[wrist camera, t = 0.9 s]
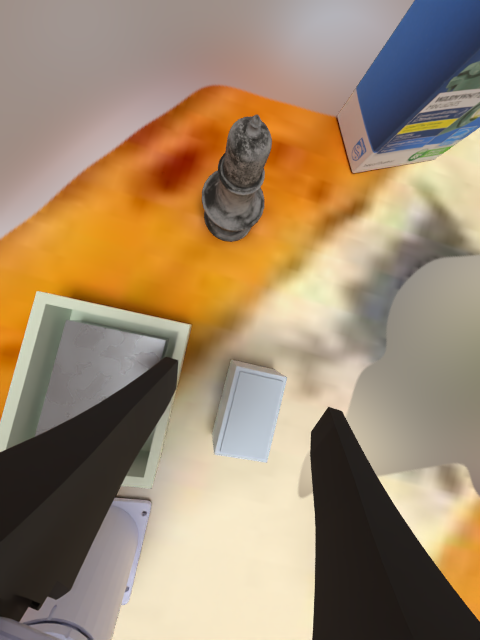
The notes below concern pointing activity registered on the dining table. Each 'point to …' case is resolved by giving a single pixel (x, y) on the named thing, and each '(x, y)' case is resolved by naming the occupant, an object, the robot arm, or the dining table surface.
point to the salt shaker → (238, 181)
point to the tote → (41, 357)
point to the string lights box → (417, 89)
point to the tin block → (95, 367)
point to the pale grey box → (248, 411)
